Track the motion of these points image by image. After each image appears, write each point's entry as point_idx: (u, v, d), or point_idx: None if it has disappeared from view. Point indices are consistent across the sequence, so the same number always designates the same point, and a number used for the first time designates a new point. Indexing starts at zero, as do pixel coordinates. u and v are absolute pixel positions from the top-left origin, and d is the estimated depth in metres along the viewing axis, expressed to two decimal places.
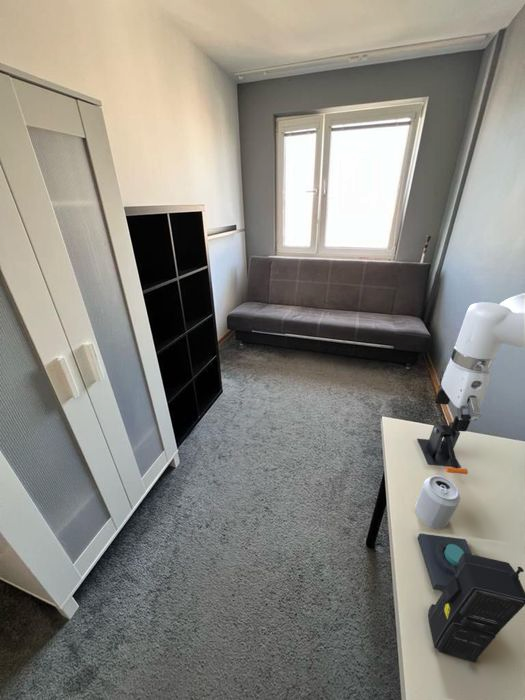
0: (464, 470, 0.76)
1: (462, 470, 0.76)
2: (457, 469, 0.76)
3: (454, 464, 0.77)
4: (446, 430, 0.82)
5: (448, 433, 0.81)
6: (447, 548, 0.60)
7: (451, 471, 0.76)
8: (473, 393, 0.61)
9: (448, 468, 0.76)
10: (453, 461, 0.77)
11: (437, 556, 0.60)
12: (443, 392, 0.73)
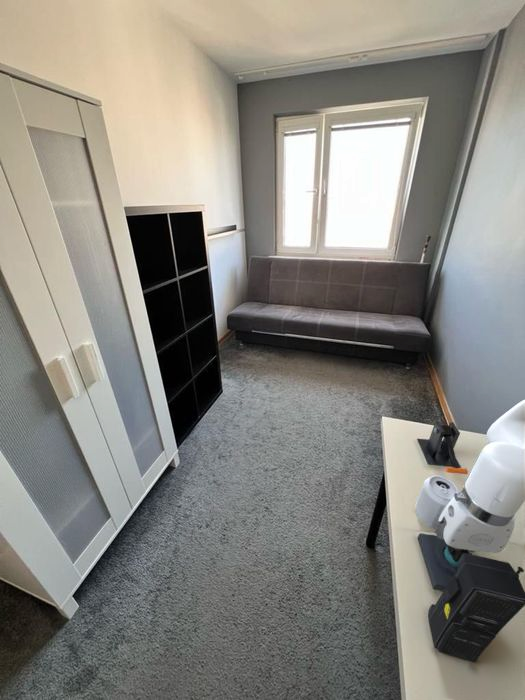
0: (464, 470, 0.76)
1: (462, 470, 0.76)
2: (457, 469, 0.76)
3: (454, 464, 0.77)
4: (446, 430, 0.82)
5: (448, 433, 0.81)
6: (447, 549, 0.60)
7: (451, 471, 0.76)
8: (446, 517, 0.54)
9: (448, 468, 0.76)
10: (453, 461, 0.77)
11: (437, 556, 0.60)
12: None
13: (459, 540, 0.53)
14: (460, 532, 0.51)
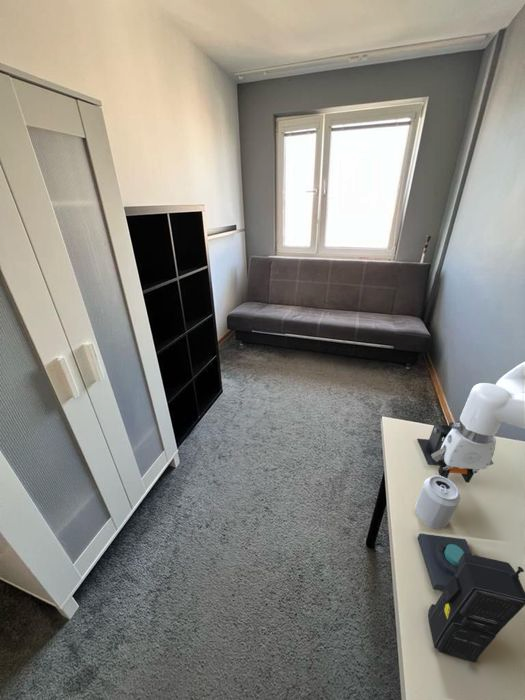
0: (464, 470, 0.76)
1: (462, 470, 0.76)
2: (457, 469, 0.76)
3: None
4: (446, 430, 0.82)
5: (448, 433, 0.81)
6: (447, 548, 0.60)
7: (451, 471, 0.76)
8: (446, 444, 0.73)
9: None
10: None
11: (437, 556, 0.60)
12: None
13: (456, 460, 0.71)
14: (456, 452, 0.70)
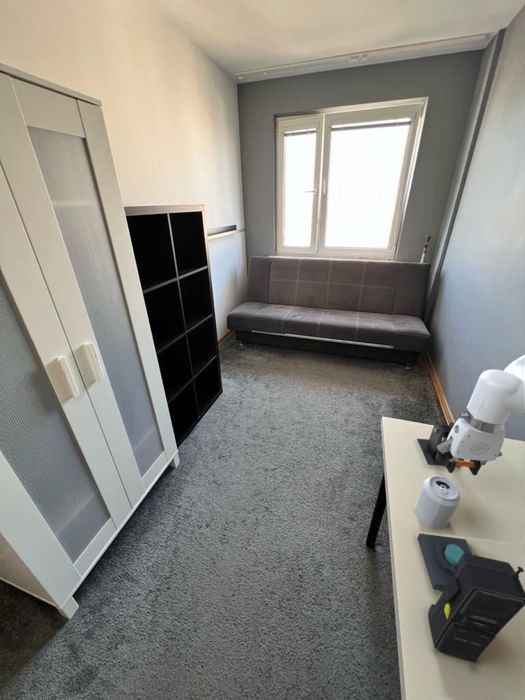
0: (470, 462, 0.73)
1: (468, 462, 0.73)
2: (463, 461, 0.73)
3: None
4: (446, 428, 0.82)
5: (448, 431, 0.81)
6: (447, 548, 0.60)
7: (458, 463, 0.73)
8: (452, 435, 0.70)
9: None
10: None
11: (437, 556, 0.60)
12: None
13: (463, 451, 0.68)
14: (463, 443, 0.67)
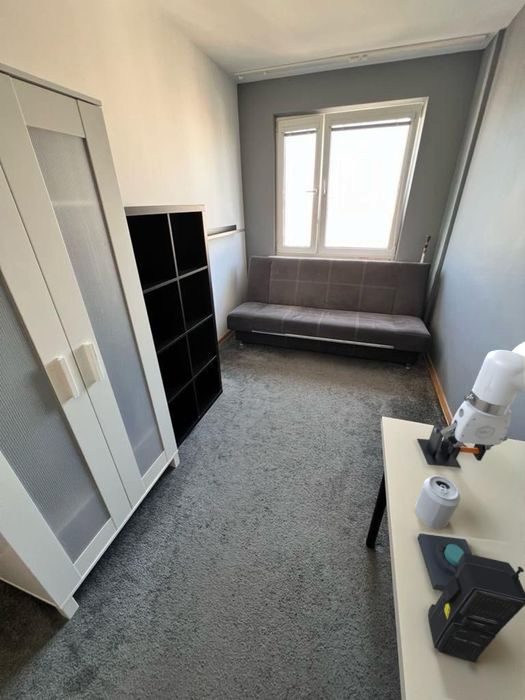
0: (474, 448, 0.72)
1: (472, 448, 0.72)
2: (467, 447, 0.72)
3: (462, 445, 0.73)
4: (445, 427, 0.82)
5: None
6: (447, 548, 0.60)
7: (462, 448, 0.72)
8: (457, 419, 0.68)
9: None
10: (461, 444, 0.74)
11: (437, 556, 0.60)
12: (478, 443, 0.71)
13: (468, 435, 0.66)
14: (468, 427, 0.65)
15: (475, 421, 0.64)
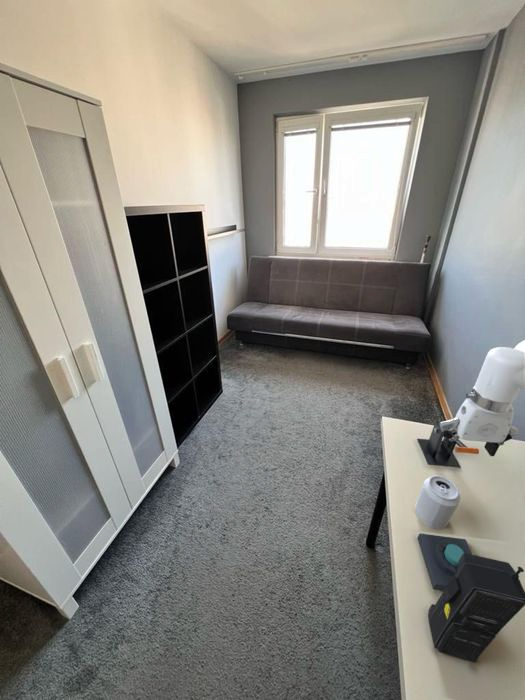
0: (474, 448, 0.72)
1: (472, 448, 0.72)
2: (467, 448, 0.72)
3: (462, 445, 0.73)
4: None
5: (448, 429, 0.81)
6: (447, 548, 0.60)
7: (462, 448, 0.72)
8: (459, 416, 0.68)
9: None
10: (460, 444, 0.74)
11: (437, 556, 0.60)
12: None
13: (470, 432, 0.66)
14: (471, 424, 0.65)
15: (477, 418, 0.64)
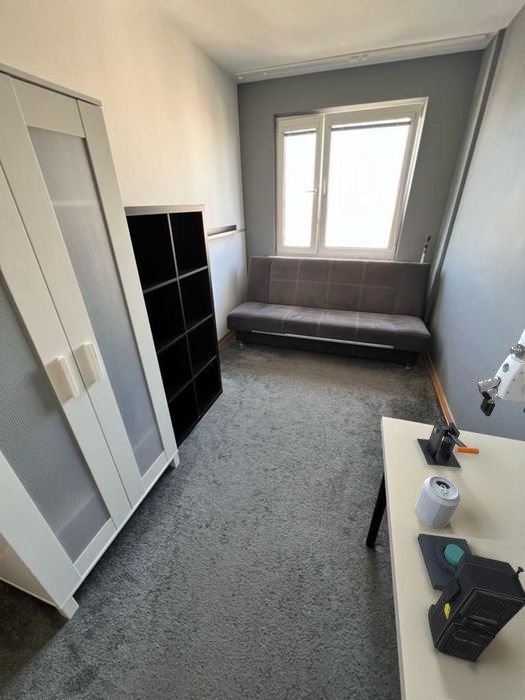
0: (474, 448, 0.72)
1: (472, 448, 0.72)
2: (467, 448, 0.72)
3: (462, 445, 0.73)
4: (445, 427, 0.82)
5: (448, 429, 0.81)
6: (447, 548, 0.60)
7: (462, 448, 0.72)
8: (500, 375, 0.64)
9: None
10: (460, 444, 0.74)
11: (437, 556, 0.60)
12: None
13: (513, 391, 0.62)
14: (515, 382, 0.61)
15: (522, 375, 0.60)
